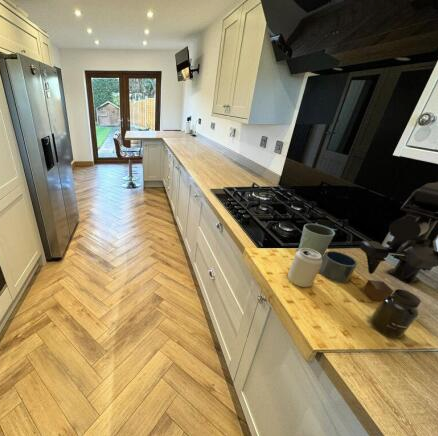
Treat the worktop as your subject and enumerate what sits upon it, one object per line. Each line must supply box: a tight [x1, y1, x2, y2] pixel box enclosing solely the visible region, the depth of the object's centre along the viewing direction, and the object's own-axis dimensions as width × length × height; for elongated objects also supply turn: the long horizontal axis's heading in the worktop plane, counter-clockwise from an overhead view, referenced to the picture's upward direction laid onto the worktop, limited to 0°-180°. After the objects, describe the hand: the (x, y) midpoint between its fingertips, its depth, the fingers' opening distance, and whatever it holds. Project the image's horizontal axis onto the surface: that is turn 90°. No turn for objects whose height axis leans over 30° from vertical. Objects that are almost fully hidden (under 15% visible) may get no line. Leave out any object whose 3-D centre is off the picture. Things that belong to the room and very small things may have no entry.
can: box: [287, 248, 323, 288], centre depth 79 cm, size 8×8×12 cm
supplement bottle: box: [369, 288, 422, 339], centre depth 63 cm, size 7×7×12 cm
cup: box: [318, 250, 358, 283], centre depth 84 cm, size 9×9×7 cm
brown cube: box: [362, 279, 394, 302], centre depth 76 cm, size 4×4×4 cm
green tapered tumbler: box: [297, 223, 336, 259], centre depth 94 cm, size 10×10×12 cm
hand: (386, 275), depth 73 cm, fingers open, 9 cm apart
